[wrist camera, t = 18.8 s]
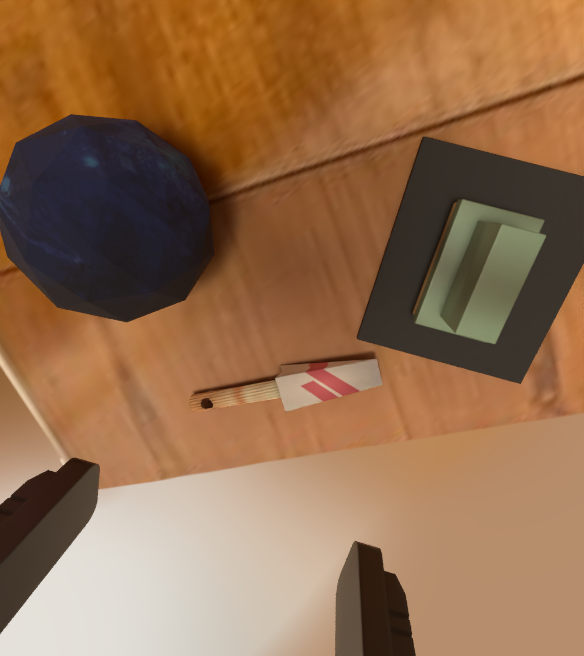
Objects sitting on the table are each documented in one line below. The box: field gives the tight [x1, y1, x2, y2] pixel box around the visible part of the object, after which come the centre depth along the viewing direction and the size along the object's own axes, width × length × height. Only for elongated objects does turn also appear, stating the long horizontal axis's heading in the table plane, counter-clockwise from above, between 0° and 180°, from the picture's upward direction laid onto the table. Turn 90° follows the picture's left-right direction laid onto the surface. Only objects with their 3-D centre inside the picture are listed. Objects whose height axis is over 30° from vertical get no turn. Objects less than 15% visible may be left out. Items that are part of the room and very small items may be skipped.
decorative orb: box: [0, 114, 214, 322], centre depth 28 cm, size 14×15×15 cm
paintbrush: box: [189, 359, 382, 412], centre depth 37 cm, size 4×3×20 cm
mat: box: [357, 137, 584, 384], centre depth 32 cm, size 18×16×1 cm
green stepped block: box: [413, 199, 546, 344], centre depth 29 cm, size 10×6×7 cm, turn 166°
